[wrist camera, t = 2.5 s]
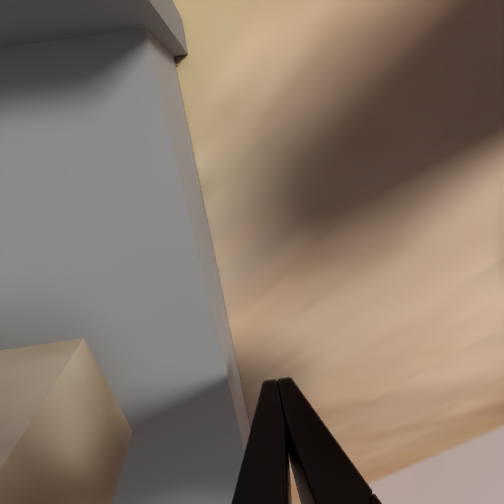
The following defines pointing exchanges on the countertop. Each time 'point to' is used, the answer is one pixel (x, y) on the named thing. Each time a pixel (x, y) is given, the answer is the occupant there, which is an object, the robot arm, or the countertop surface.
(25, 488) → the birch block
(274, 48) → the countertop surface
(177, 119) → the box
